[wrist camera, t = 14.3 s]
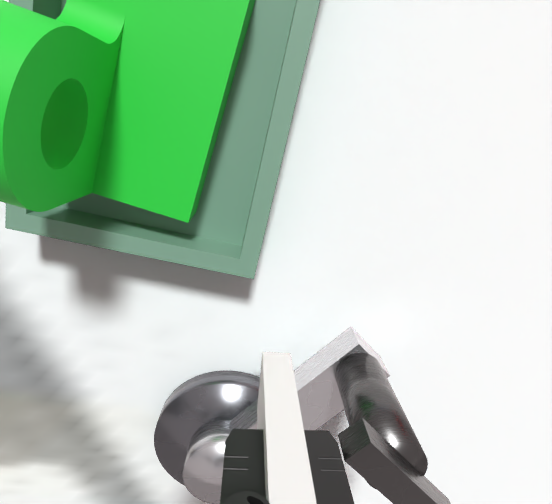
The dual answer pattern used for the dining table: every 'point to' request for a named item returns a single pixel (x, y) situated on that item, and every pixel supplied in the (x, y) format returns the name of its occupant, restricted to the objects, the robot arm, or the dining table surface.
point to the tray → (223, 166)
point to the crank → (324, 406)
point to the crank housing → (199, 412)
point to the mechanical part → (115, 100)
